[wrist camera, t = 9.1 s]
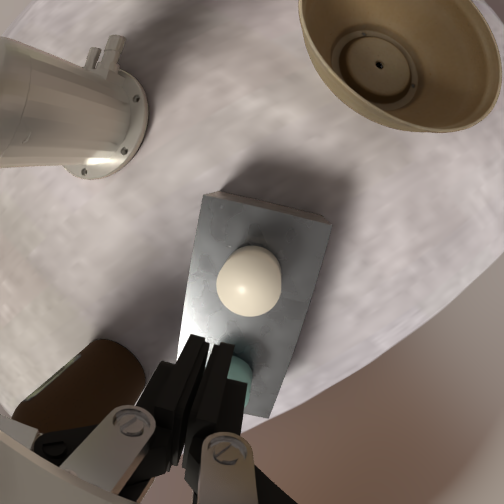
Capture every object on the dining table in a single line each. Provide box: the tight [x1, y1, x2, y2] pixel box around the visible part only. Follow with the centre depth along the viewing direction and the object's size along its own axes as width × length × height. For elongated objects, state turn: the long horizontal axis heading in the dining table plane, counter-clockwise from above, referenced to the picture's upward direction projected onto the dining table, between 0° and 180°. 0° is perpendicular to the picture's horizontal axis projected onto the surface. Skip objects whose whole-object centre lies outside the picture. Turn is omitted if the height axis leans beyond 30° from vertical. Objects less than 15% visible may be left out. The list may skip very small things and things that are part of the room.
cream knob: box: [216, 245, 281, 317], centre depth 25 cm, size 4×4×9 cm
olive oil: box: [11, 339, 145, 434], centre depth 23 cm, size 11×11×25 cm
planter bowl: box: [299, 0, 502, 133], centre depth 19 cm, size 16×16×11 cm
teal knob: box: [205, 356, 253, 407], centre depth 27 cm, size 4×4×9 cm
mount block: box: [177, 191, 332, 419], centre depth 28 cm, size 20×10×6 cm, turn 167°
